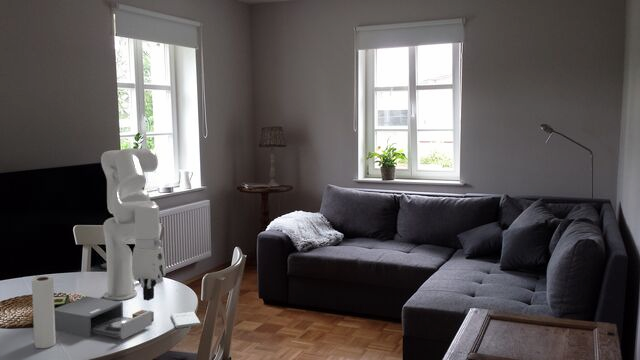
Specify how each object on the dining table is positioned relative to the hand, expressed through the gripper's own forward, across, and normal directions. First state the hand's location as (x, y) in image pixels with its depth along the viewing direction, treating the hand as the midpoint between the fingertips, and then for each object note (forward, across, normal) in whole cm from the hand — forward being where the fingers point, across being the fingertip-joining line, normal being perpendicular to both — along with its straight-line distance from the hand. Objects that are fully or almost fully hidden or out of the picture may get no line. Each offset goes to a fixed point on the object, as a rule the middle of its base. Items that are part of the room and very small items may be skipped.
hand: (148, 299), depth 191 cm
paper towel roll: (+13, +26, +18) cm, 34 cm away
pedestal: (+13, +11, -10) cm, 19 cm away
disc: (+11, +12, 0) cm, 16 cm away
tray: (+12, +13, 0) cm, 17 cm away
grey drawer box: (+13, +26, 0) cm, 29 cm away
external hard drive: (+13, -1, -18) cm, 22 cm away
